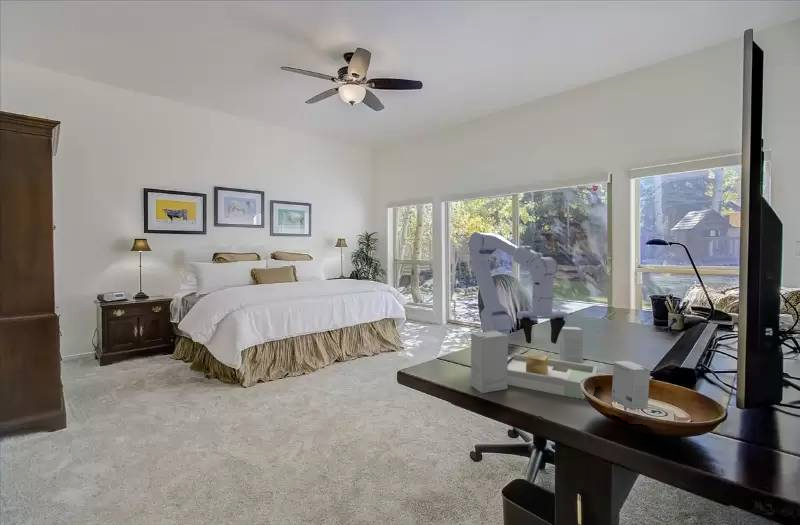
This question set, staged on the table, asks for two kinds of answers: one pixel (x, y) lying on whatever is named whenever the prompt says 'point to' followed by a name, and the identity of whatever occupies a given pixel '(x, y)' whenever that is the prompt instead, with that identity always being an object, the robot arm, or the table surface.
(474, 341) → the skincare box
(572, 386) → the trap box
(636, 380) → the skincare box
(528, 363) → the ochre block
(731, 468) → the table surface
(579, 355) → the skincare box
